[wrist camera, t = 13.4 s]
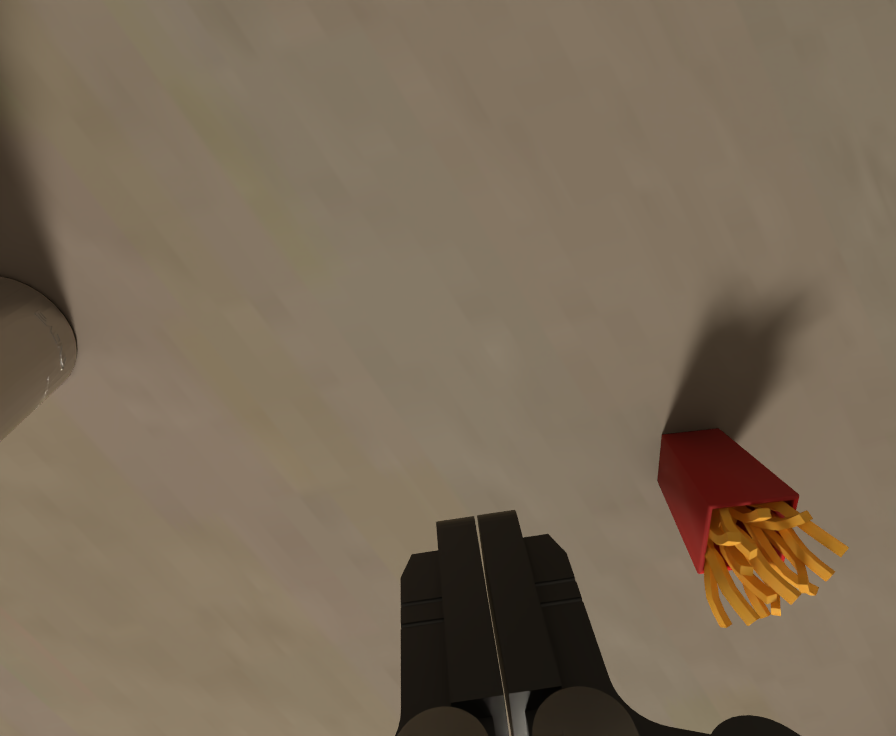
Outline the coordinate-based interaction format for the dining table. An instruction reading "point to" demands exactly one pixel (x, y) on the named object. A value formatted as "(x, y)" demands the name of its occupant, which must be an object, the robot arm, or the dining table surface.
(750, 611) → the french fries
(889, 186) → the dining table surface
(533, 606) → the robot arm
